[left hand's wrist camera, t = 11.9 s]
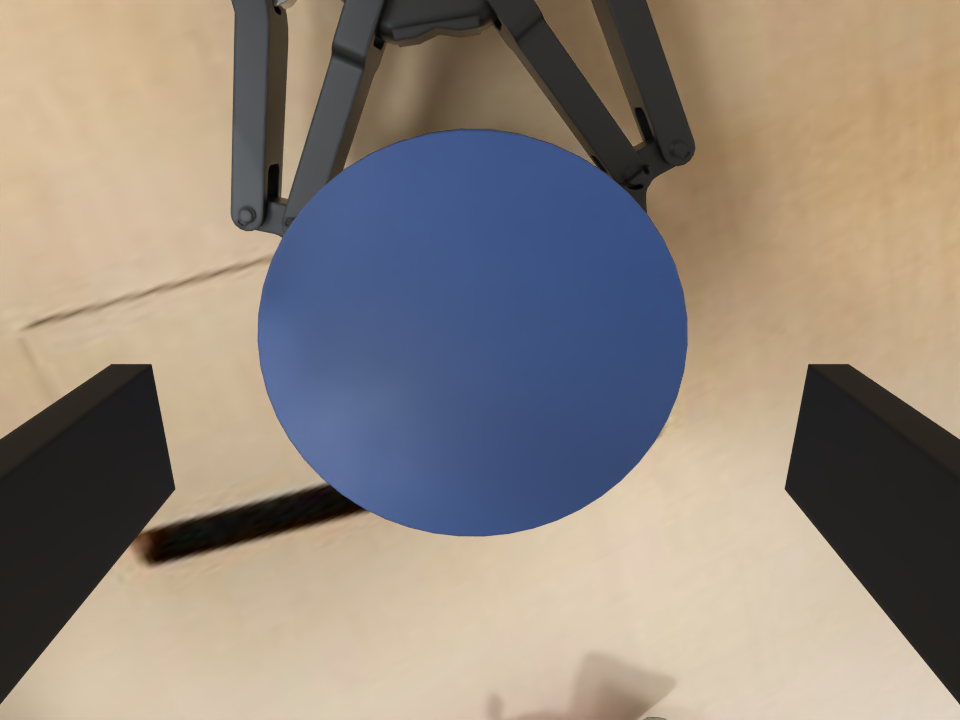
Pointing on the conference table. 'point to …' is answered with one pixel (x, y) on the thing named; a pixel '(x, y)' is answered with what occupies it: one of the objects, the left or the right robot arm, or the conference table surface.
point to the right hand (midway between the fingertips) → (488, 364)
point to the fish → (654, 718)
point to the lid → (472, 332)
